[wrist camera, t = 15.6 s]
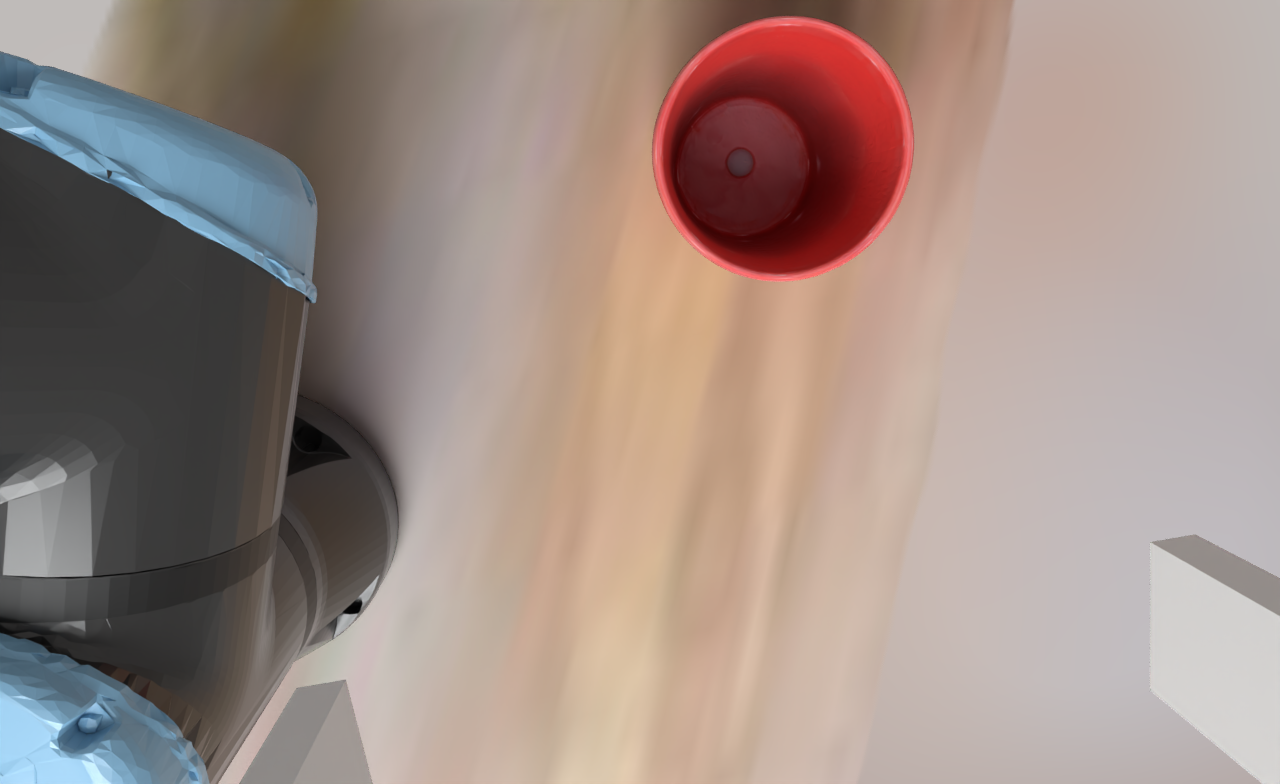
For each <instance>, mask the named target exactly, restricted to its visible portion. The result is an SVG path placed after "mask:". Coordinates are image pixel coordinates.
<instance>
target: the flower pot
mask: <svg viewBox="0 0 1280 784" xmlns="http://www.w3.org/2000/svg"><path fill="white" fill-rule="evenodd" d="M913 153H914V131H913V123H912V118H911V113H910V109H909V105H908V102H907V99H906V96H905V93H904V91H903V88H902V86H901V84H900V82H899V80H898V79H897V77H896V75H895V73H894V72H893V70H892V69H891V67H890V66H889V64H888V63H887V62H886V61H885V59H884V58H883V57H882V56H881V55H880V54H879V53H878V52H877V51H876V50H875V49H874V48H873V47H872V46H871V45H870V44H869V43H867V42H866V41H865V40H863V39H862V38H861V37H859V36H858V35H856V34H854V33H853V32H851V31H849V30H847V29H845V28H843V27H841V26H838V25H836V24H833V23H830V22H827V21H824V20H821V19H816V18H810V17H804V16H776V17H768V18H763V19H758V20H755V21H751V22H748V23H745V24H742V25H740V26H737V27H735V28H733V29H731V30H729V31H727V32H725V33H724V34H722V35H720V36H718V37H717V38H715V39H714V40H712V41H711V42H709V43H708V44H707V45H705V46H704V47H703V48H702V49H701V50H699V51H698V52H697V53H696V54H695V55H694V56H693V57H692V58H691V59H690V60H689V61H688V62H687V64H686V65H685V66H684V67H683V68H682V70H681V71H680V72H679V74H678V75H677V77H676V78H675V80H674V82H673V83H672V85H671V87H670V88H669V90H668V92H667V94H666V96H665V98H664V100H663V103H662V105H661V108H660V110H659V113H658V116H657V120H656V123H655V128H654V134H653V142H652V163H653V171H654V177H655V181H656V185H657V189H658V192H659V195H660V198H661V200H662V203H663V205H664V208H665V210H666V212H667V214H668V215H669V217H670V219H671V221H672V222H673V224H674V225H675V227H676V228H677V229H678V231H679V232H680V233H681V235H682V236H683V237H684V238H685V239H686V241H687V242H688V243H689V244H690V245H691V246H692V247H693V248H694V249H696V250H697V251H698V252H699V253H700V254H702V255H703V256H704V257H705V258H707V259H708V260H710V261H711V262H713V263H715V264H716V265H718V266H720V267H722V268H724V269H726V270H728V271H730V272H733V273H735V274H738V275H741V276H744V277H748V278H752V279H756V280H764V281H794V280H802V279H806V278H810V277H814V276H818V275H820V274H823V273H826V272H828V271H830V270H833V269H835V268H837V267H839V266H841V265H843V264H845V263H847V262H848V261H850V260H851V259H853V258H854V257H856V256H857V255H858V254H860V253H861V252H862V251H863V250H865V249H866V248H867V247H868V246H869V245H870V244H871V243H872V242H873V241H874V240H875V239H876V238H877V237H878V236H879V235H880V233H881V232H882V231H883V230H884V228H885V227H886V226H887V225H888V223H889V222H890V221H891V219H892V217H893V216H894V214H895V212H896V211H897V209H898V207H899V205H900V202H901V200H902V198H903V195H904V193H905V190H906V187H907V184H908V181H909V178H910V173H911V168H912V162H913Z"/></svg>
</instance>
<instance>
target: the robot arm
mask: <svg viewBox="0 0 1280 784" xmlns="http://www.w3.org/2000/svg"><path fill="white" fill-rule="evenodd" d="M316 227H317V202H316V197H315V193H314V190H313V188H312V186H311V184H310V182H309V180H308V179H307V177H306V176H305V175H304V174H303V172H302V171H301V170H300V169H299V168H298V167H297V166H296V165H295V164H294V163H293V162H292V161H291V160H289V159H288V158H287V157H285V156H284V155H282V154H281V153H279V152H277V151H275V150H273V149H272V148H270V147H267V146H265V145H263V144H261V143H259V142H257V141H254V140H252V139H250V138H248V137H245V136H243V135H240V134H238V133H235V132H233V131H230V130H228V129H225V128H223V127H220V126H218V125H215V124H213V123H210V122H208V121H205V120H203V119H200V118H197V117H195V116H192V115H189V114H187V113H184V112H181V111H179V110H176V109H173V108H171V107H168V106H165V105H163V104H160V103H157V102H154V101H151V100H149V99H146V98H143V97H140V96H137V95H135V94H132V93H129V92H126V91H123V90H120V89H117V88H114V87H112V86H109V85H106V84H103V83H100V82H97V81H94V80H91V79H88V78H85V77H82V76H79V75H76V74H73V73H70V72H67V71H64V70H60V69H57V68H54V67H49V66H38V65H36V64H34V63H33V62H31V61H29V60H27V59H24V58H21V57H17V56H14V55H10V54H7V53H4V52H1V51H0V784H218V782H219V781H220V779H221V778H222V776H223V774H224V773H225V771H226V770H227V768H228V766H229V765H230V763H231V762H232V760H233V758H234V757H235V755H236V754H237V752H238V751H239V749H240V747H241V746H242V744H243V743H244V741H245V739H246V738H247V736H248V735H249V733H250V731H251V730H252V728H253V727H254V725H255V723H256V722H257V720H258V719H259V717H260V715H261V714H262V712H263V711H264V709H265V707H266V706H267V704H268V703H269V701H270V700H271V698H272V696H273V695H274V693H275V692H276V690H277V688H278V687H279V685H280V684H281V682H282V680H283V679H284V677H285V676H286V674H287V672H288V671H289V669H290V668H291V666H292V664H293V662H295V661H296V660H298V659H300V658H302V657H303V656H305V655H307V654H309V653H310V652H312V651H314V650H316V649H317V648H319V647H321V646H323V645H324V644H326V643H328V642H329V641H331V640H333V639H334V638H336V637H337V636H338V635H340V634H341V633H342V632H344V631H345V630H346V629H347V628H348V627H349V626H350V625H351V624H352V623H353V622H354V621H355V620H356V619H357V618H358V617H359V616H360V615H361V614H362V613H363V612H364V610H365V609H366V608H367V607H368V605H369V604H370V602H371V601H372V599H373V598H374V596H375V594H376V593H377V591H378V589H379V587H380V585H381V584H382V582H383V580H384V578H385V576H386V574H387V572H388V570H389V567H390V565H391V562H392V559H393V556H394V553H395V548H396V543H397V536H398V513H397V505H396V500H395V495H394V492H393V488H392V485H391V482H390V480H389V477H388V475H387V473H386V471H385V469H384V467H383V465H382V463H381V461H380V460H379V458H378V456H377V455H376V453H375V452H374V451H373V449H372V448H371V447H370V445H369V444H368V443H367V442H366V440H365V439H364V438H363V437H362V436H361V435H360V434H359V433H358V432H357V431H356V430H355V429H354V428H353V427H352V426H351V425H349V424H348V423H347V422H346V421H344V420H343V419H342V418H341V417H339V416H338V415H336V414H335V413H333V412H332V411H330V410H329V409H327V408H325V407H323V406H321V405H320V404H317V403H315V402H313V401H311V400H309V399H306V398H304V397H301V396H298V395H297V394H298V387H299V379H300V371H301V363H302V356H303V348H304V340H305V333H306V325H307V317H308V309H309V303H316V298H317V288H316V287H315V285H314V284H313V283H312V275H313V263H314V251H315V239H316ZM1150 691H1151V692H1153V693H1154V694H1155V695H1156V696H1158V697H1159V698H1160V699H1161V700H1162V701H1163V702H1165V703H1166V704H1167V705H1168V706H1169V707H1171V708H1172V709H1173V710H1174V711H1175V712H1177V713H1178V714H1179V715H1180V716H1182V717H1183V718H1184V719H1185V720H1186V721H1187V722H1189V723H1190V724H1191V725H1192V726H1193V727H1195V728H1196V729H1197V730H1198V731H1200V732H1201V733H1202V734H1203V735H1204V736H1206V737H1207V738H1208V739H1209V740H1210V741H1212V742H1213V743H1214V744H1215V745H1216V746H1218V747H1219V748H1220V749H1221V750H1222V751H1224V752H1225V753H1226V754H1227V755H1228V756H1230V757H1231V758H1232V759H1233V760H1234V761H1235V762H1237V763H1238V764H1239V765H1240V766H1242V767H1243V768H1244V769H1245V770H1246V771H1247V772H1249V773H1250V774H1251V775H1252V776H1254V777H1255V778H1256V779H1257V780H1258V781H1259V782H1261V783H1262V784H1280V578H1278V577H1276V576H1274V575H1273V574H1271V573H1268V572H1267V571H1265V570H1263V569H1261V568H1259V567H1257V566H1255V565H1253V564H1251V563H1249V562H1247V561H1245V560H1244V559H1242V558H1240V557H1238V556H1236V555H1234V554H1232V553H1230V552H1228V551H1226V550H1224V549H1222V548H1220V547H1218V546H1216V545H1215V544H1213V543H1211V542H1209V541H1207V540H1205V539H1203V538H1201V537H1199V536H1197V535H1190V536H1184V537H1178V538H1172V539H1166V540H1161V541H1155V542H1150ZM239 784H373V783H372V779H371V775H370V772H369V768H368V764H367V760H366V756H365V752H364V748H363V745H362V741H361V737H360V733H359V729H358V725H357V721H356V718H355V714H354V710H353V706H352V702H351V698H350V694H349V690H348V687H347V683H346V680H341V681H335V682H330V683H324V684H318V685H312V686H306V687H300V688H296V690H295V692H294V693H293V695H292V697H291V698H290V700H289V702H288V703H287V705H286V707H285V708H284V710H283V712H282V713H281V715H280V717H279V718H278V720H277V722H276V723H275V725H274V727H273V728H272V730H271V732H270V733H269V735H268V737H267V738H266V740H265V742H264V743H263V745H262V747H261V748H260V750H259V752H258V753H257V755H256V757H255V758H254V760H253V762H252V763H251V765H250V767H249V768H248V770H247V772H246V773H245V775H244V777H243V778H242V780H241V782H240V783H239Z"/></svg>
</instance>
